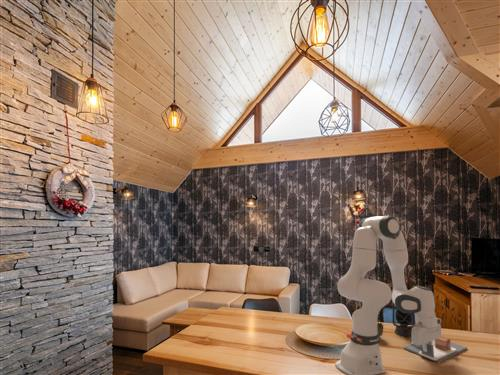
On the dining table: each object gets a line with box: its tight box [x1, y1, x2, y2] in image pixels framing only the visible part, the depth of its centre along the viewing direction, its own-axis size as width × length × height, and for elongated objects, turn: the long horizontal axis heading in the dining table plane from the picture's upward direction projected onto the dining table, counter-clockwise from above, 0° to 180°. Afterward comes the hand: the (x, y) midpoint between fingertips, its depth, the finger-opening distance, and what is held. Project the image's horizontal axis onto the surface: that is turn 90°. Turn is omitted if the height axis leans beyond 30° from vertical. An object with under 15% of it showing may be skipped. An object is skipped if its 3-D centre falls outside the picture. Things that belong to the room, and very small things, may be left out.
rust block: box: [435, 335, 451, 351], centre depth 147 cm, size 5×5×5 cm
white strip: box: [419, 344, 457, 361], centre depth 145 cm, size 20×8×6 cm, turn 121°
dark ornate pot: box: [377, 321, 384, 340], centre depth 165 cm, size 8×7×8 cm
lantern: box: [391, 285, 416, 338], centre depth 173 cm, size 12×11×30 cm
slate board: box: [403, 341, 468, 364], centre depth 150 cm, size 28×17×1 cm, turn 121°
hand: (427, 350), depth 140 cm, fingers closed on white strip, 2 cm apart
